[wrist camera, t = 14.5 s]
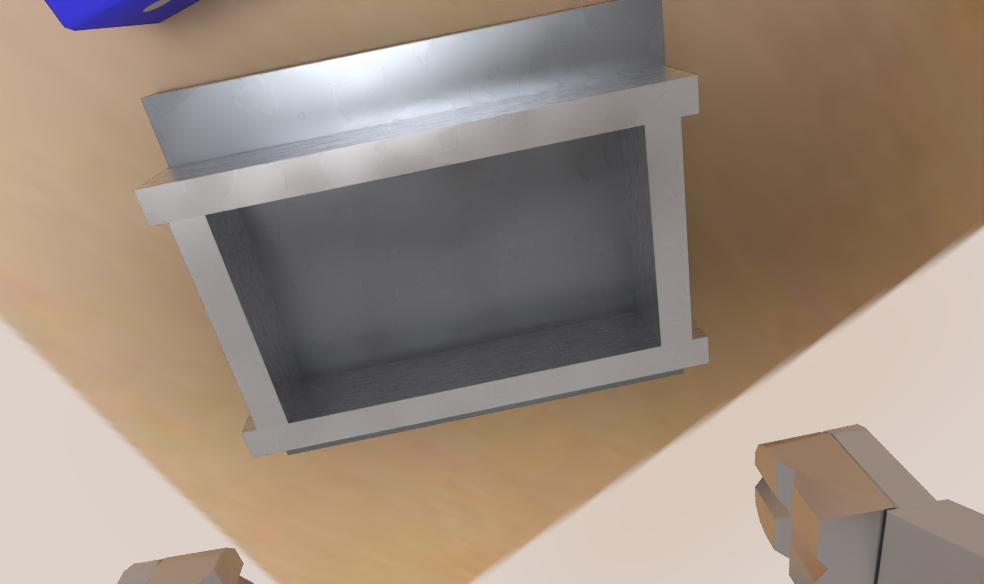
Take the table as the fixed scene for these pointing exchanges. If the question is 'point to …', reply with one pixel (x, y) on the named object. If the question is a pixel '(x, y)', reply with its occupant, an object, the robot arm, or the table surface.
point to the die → (114, 12)
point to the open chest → (437, 223)
